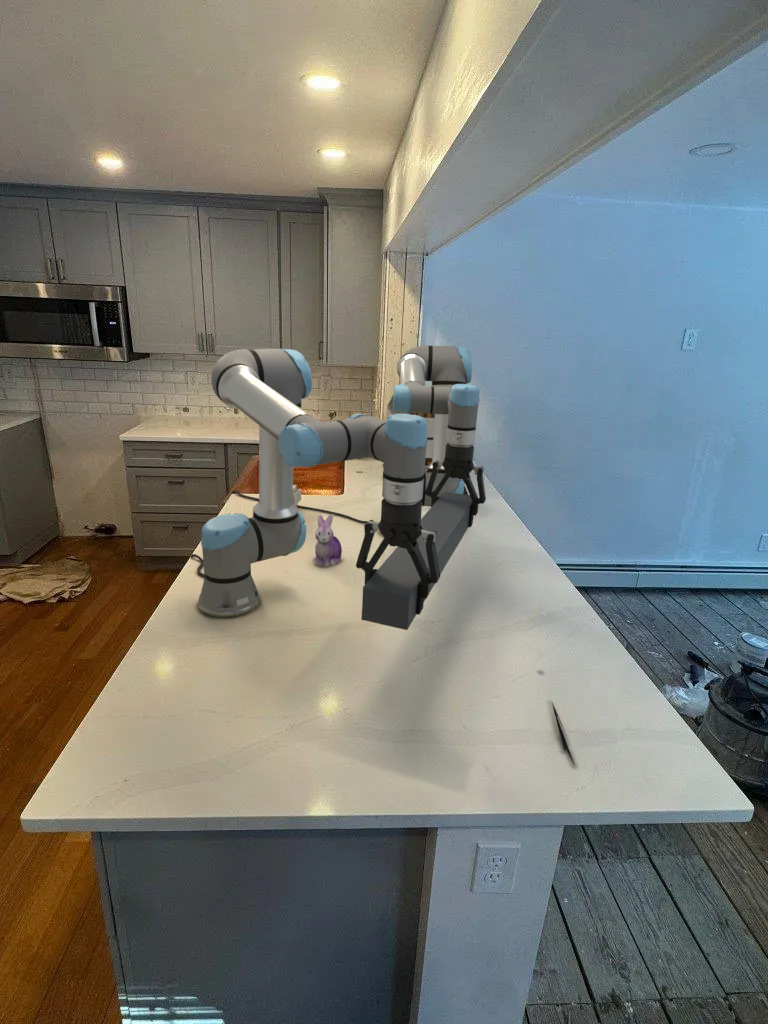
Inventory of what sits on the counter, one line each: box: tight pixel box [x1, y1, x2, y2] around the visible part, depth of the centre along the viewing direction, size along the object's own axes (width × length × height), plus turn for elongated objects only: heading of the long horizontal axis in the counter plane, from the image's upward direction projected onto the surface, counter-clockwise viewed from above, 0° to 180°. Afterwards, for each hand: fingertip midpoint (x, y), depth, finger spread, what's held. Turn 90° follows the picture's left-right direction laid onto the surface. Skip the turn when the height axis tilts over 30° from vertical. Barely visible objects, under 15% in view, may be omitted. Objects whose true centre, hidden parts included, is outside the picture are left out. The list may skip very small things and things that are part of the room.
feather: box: [540, 670, 575, 765], centre depth 113 cm, size 2×28×2 cm
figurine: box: [314, 513, 343, 567], centre depth 173 cm, size 9×10×15 cm
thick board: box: [361, 492, 475, 631], centre depth 135 cm, size 65×9×7 cm, turn 161°
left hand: (395, 605), depth 113 cm, fingers closed on thick board, 9 cm apart
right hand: (452, 522), depth 158 cm, fingers closed on thick board, 9 cm apart
